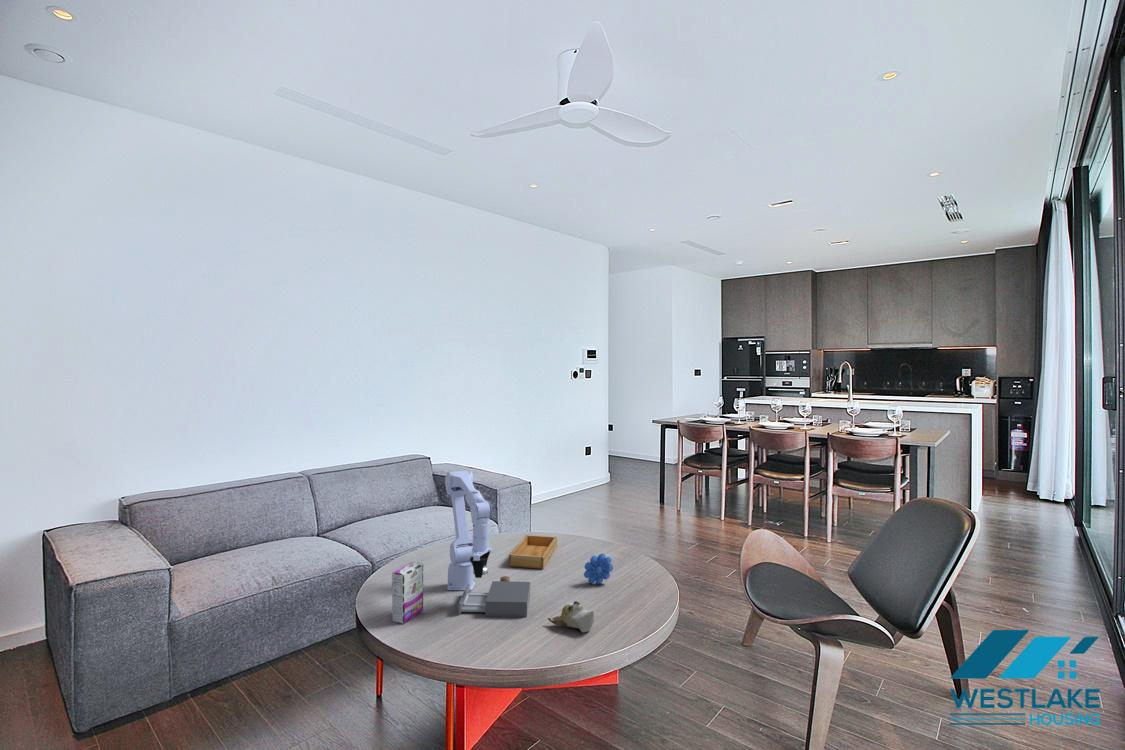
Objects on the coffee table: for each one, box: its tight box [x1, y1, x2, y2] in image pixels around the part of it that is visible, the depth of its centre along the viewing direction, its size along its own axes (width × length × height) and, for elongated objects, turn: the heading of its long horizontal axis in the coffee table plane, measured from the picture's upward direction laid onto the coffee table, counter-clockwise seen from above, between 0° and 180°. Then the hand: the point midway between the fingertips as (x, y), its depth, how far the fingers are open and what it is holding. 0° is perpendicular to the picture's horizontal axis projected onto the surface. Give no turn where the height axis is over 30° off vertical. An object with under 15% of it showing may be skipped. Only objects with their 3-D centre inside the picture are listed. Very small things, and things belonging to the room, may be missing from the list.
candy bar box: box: [391, 561, 424, 625], centre depth 183 cm, size 11×5×16 cm, turn 160°
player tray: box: [457, 584, 489, 614], centre depth 193 cm, size 13×17×3 cm
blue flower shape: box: [583, 553, 614, 585], centre depth 215 cm, size 12×7×12 cm, turn 94°
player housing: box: [484, 580, 531, 618], centre depth 193 cm, size 14×18×5 cm
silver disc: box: [473, 564, 489, 576], centre depth 194 cm, size 5×5×2 cm
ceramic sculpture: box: [547, 600, 595, 633], centre depth 178 cm, size 11×9×15 cm
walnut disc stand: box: [499, 575, 511, 582], centre depth 208 cm, size 6×6×4 cm
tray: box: [508, 534, 558, 570], centre depth 245 cm, size 31×15×6 cm, turn 170°
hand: (480, 574), depth 194 cm, fingers closed on silver disc, 5 cm apart
